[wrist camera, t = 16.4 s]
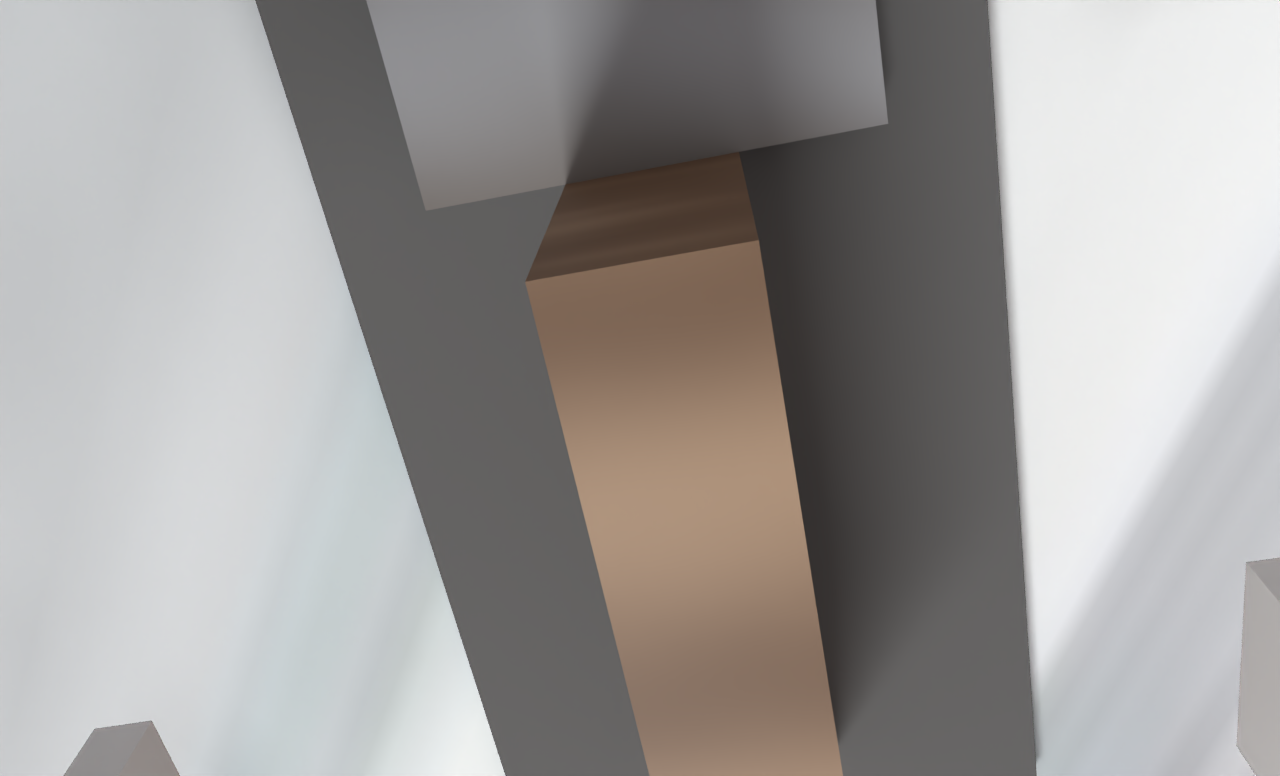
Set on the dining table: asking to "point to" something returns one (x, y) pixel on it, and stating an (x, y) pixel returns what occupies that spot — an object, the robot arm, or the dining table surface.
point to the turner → (659, 318)
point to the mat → (812, 390)
